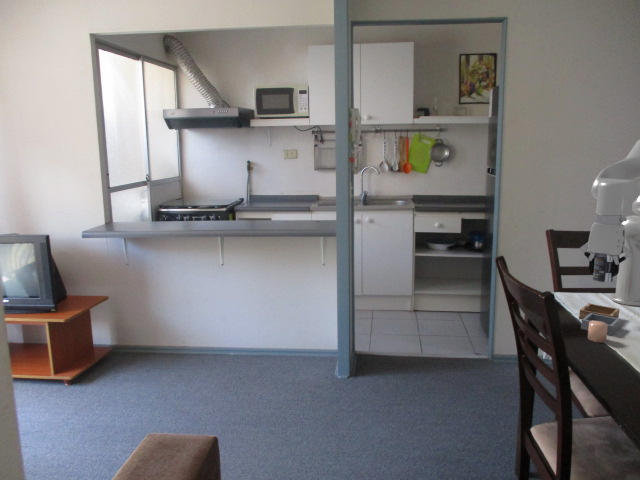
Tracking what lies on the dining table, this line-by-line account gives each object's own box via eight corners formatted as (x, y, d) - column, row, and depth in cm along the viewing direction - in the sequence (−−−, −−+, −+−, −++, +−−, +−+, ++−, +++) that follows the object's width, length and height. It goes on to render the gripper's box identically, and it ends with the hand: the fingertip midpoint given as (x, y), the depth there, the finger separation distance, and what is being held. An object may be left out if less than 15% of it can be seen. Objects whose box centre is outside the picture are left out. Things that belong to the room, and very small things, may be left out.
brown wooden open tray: (587, 312, 188) (588, 303, 187) (618, 318, 181) (619, 309, 181) (579, 319, 181) (579, 310, 180) (610, 325, 174) (611, 316, 174)
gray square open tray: (589, 321, 178) (590, 312, 178) (618, 327, 173) (620, 317, 172) (580, 328, 172) (581, 318, 171) (611, 335, 166) (612, 325, 165)
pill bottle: (615, 283, 175) (618, 249, 173) (595, 282, 176) (598, 248, 174) (609, 279, 181) (612, 245, 179) (590, 278, 182) (593, 245, 180)
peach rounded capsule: (590, 335, 167) (592, 319, 166) (608, 339, 163) (609, 323, 162) (585, 339, 163) (586, 323, 162) (603, 343, 160) (605, 327, 159)
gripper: (641, 220, 171) (635, 276, 175) (583, 215, 183) (579, 267, 186) (635, 224, 166) (629, 280, 170) (576, 218, 177) (571, 271, 181)
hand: (603, 273), depth 178 cm, fingers closed on pill bottle, 6 cm apart
